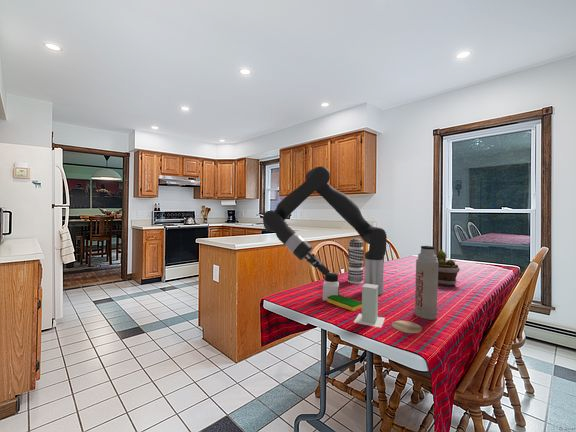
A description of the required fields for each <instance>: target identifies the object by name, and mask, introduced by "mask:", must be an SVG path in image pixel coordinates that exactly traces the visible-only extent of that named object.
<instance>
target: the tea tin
mask: <svg viewBox="0 0 576 432" xmlns="http://www.w3.org/2000/svg"><path fill="white" fill-rule="evenodd" d="M378 287H379V285H373V284H366V283H365V284H364V283H363V285H362V286H361V302H362V307H361V314H362V321H363V322H369V323H374V324H375V323H376V321H377V318H378V317H379V315H378V312H379V311H378V310H379V306H378V305H379V295H378Z"/></svg>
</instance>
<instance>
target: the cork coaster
mask: <svg viewBox="0 0 576 432" xmlns="http://www.w3.org/2000/svg"><path fill="white" fill-rule="evenodd" d="M391 327H392V328H393V329H395V330H396V331H399V332H402V333H405V334H419V333H421V332H422V330H423V328H422V326H421V325H419V324H417V323H415V322H413V321H408V320H395V321H392V322H391Z"/></svg>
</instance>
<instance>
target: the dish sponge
mask: <svg viewBox="0 0 576 432" xmlns="http://www.w3.org/2000/svg"><path fill="white" fill-rule="evenodd" d="M326 302H327V303H329V304H332V305H335V306H337V307H339V308H343V309H345V310H349V311H353V312H354V311H357V310H359V309H362V301H360V300H357V299H353V298H351V297H348V296H344V295H341V294H339V295H332V296H329V297H327V301H326Z"/></svg>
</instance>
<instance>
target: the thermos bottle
mask: <svg viewBox="0 0 576 432" xmlns="http://www.w3.org/2000/svg"><path fill="white" fill-rule="evenodd" d="M435 249H436V248H435V246H431V245H421V246H420V252H419V253H418V254H417V259H416V260H415V290H414V292H415V294H414V315H415V316H417V317H418V318H422V319H427V320H436V319H437V316H438V293H439V291H438V288H439V285H438V261H437V255H436V253H435Z"/></svg>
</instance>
